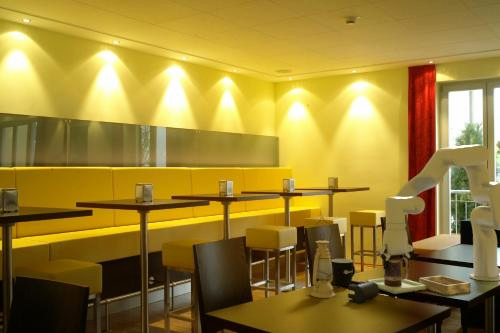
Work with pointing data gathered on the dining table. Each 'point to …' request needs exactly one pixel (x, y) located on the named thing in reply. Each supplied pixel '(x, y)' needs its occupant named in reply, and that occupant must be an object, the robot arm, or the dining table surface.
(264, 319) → the dining table surface
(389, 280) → the mug
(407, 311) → the dining table surface
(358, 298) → the end cap
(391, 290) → the tray
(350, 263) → the mug
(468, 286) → the tray
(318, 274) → the lantern
